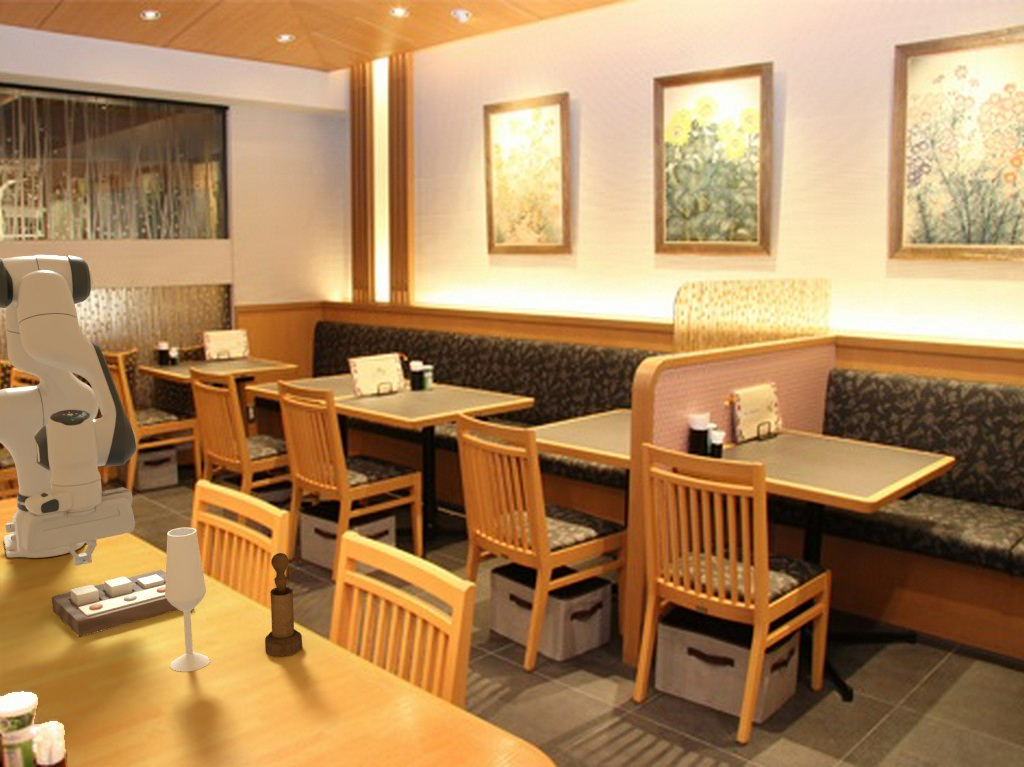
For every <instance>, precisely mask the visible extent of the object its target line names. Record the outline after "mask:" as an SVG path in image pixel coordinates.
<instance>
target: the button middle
mask: <svg viewBox="0 0 1024 767" xmlns="http://www.w3.org/2000/svg"><path fill="white" fill-rule="evenodd" d="M127 578H128V577H126V576H120V577H116V578H112V579H108V580H104V583H105V594H106V595H108V596H109V597H110V598H112V597H116V596H120V595H124V594H127V593H131V592H133V591H132V582H131V581H130V580H129V579H127ZM104 583H103V584H104Z"/></svg>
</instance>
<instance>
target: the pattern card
mask: <svg viewBox="0 0 1024 767" xmlns="http://www.w3.org/2000/svg"><path fill="white" fill-rule="evenodd" d="M163 596H165V585H162V586H158V587H155V588H151V589H147V590H143V591H139V592H135V593H131V594H127V595H123V596H120V597H116V598H112V599H108V600H104V601H100V602H96V603H92V604H88V605H84V606H81V607H78V609H79V610H80V611H82V612H83V613H84V614H85V615H86V616H91V615H95V614H99V613H102V612H106V611H110V610H114V609H118V608H121V607H125V606H129V605H133V604H137V603H140V602H144V601H148V600H152V599H155V598H159V597H163Z"/></svg>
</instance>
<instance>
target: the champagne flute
mask: <svg viewBox="0 0 1024 767" xmlns="http://www.w3.org/2000/svg"><path fill="white" fill-rule="evenodd" d="M166 536H167V537H166V558H165V559H166V560H165V573H166V584H165V596H166V599H167V600H168V602H169V603H170V604H171V605H172V606H174V607H175V608H177V609H178V610H177V611H181V612H182V613H183V614H182V615H183V625H184V626H183V628H184V629H183V630H184V645H185V653H183V654H181V655H180V656H178V657H177V658H175V659H173V661H171V663H170V664H171V665H170V664H169V667H170V669H171V670H173V671H175V670H176V672H180V671H181V672H183V673H187V672H194V671H198V670H200V669H203V668H205V667H206V666H208V665H210V664H209V663H210V661H211V659H210V657H209V656H207V655H205V654H201V653H199V652H196V651H194V648H193V645H194V644H193V632H192V615H191V612H192V611H193V610H194V609H195V608H196V607H197V606H198V605H199V604H200V603H201V602H202V601H203V599H204V598H205V595H206V592H207V588H206V587H207V586H206V582H205V575H204V570H203V564H202V558H201V550H200V544H199V538H198V532H197V529H196V528H194V527H177V528H174V529H171V530H169V531H167V534H166ZM208 657H209V658H208ZM209 659H210V660H209ZM204 666H205V667H204ZM181 672H180V673H181Z"/></svg>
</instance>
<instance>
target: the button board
mask: <svg viewBox="0 0 1024 767" xmlns="http://www.w3.org/2000/svg"><path fill="white" fill-rule="evenodd" d="M156 574H157V575H158V576H160V577H161V578H162V579H164V584H163V585H165V584H166V571H163V569H158V570H154V571H150V572H146V573H141V574H138V575H134V576H130V577H126V578H127V579H129V580H130V581H131V582H132V591H133V592H131V593H135V592H139V591H143V590H147V589H151V588H155V587H158V586H155V587H151V588H147V589H142V588H141V587H139V586H138V583H137V579H140V578H144V577H148V576H152V575H156ZM93 586H94V587H95V588H97V589H98V590H99V601H96V602H100V601H104V600H108V599H112V598H116V597H120V596H123V595H120V596H116V597H112V598H110V597H109V596H108V595H106V594H105V583H100V584H97V585H93ZM159 586H162V585H159ZM131 593H127V594H131ZM127 594H124V595H127ZM96 602H92V603H96ZM92 603H88V604H92ZM51 604H52V606H51V608H52V611H53V613H54V614H55V615H57V617H59V618H60V619H61V620H62V621H63V622H64V623H65V624H66V626H68V628H70V629H71V630H72V631H73V632H74V633H75V634H76V635H77V636H78V637H79V636H80V637H83V635H84V636H87V634H88V635H90V633H91V634H94V632H95V633H98V632H101V630H102V631H105V629H106V630H109V629H113V628H115V627H120V626H123V625H127V624H131V623H134V622H137V621H141V620H145V619H149V618H153V617H156V616H159V615H163V614H167V613H170V611H171V612H174V611H178V610H177V608H175V607H174V606H172V605H171V604H170V603H169V602H168V600H167V599H166V596H163V597H159V598H155V599H152V600H148V601H144V602H140V603H137V604H133V605H129V606H125V607H121V608H118V609H114V610H110V611H106V612H102V613H99V614H95V615H91V616H86V615H85V614H84V613H83V612H82V611H80V610H79V609H78V607H81V606H84V605H81V606H77V607H76V606H75V605H74V604H73V603H72V601H71V591H68V592H65V593H61V594H57V595H52V596H51ZM88 604H85V605H88ZM97 631H98V632H97Z"/></svg>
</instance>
